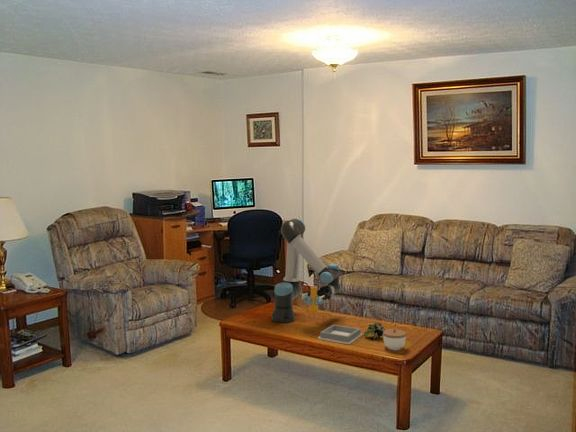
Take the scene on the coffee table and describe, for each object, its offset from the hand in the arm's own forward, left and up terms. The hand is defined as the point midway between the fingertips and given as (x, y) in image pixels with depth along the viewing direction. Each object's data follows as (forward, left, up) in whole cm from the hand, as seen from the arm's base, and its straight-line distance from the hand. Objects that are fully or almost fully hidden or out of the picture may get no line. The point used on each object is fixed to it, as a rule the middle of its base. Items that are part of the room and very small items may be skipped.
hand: (310, 298), depth 347 cm
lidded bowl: (+54, -3, -21) cm, 58 cm away
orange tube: (0, +4, -9) cm, 10 cm away
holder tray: (+20, 0, -21) cm, 29 cm away
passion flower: (+39, +8, -21) cm, 45 cm away
